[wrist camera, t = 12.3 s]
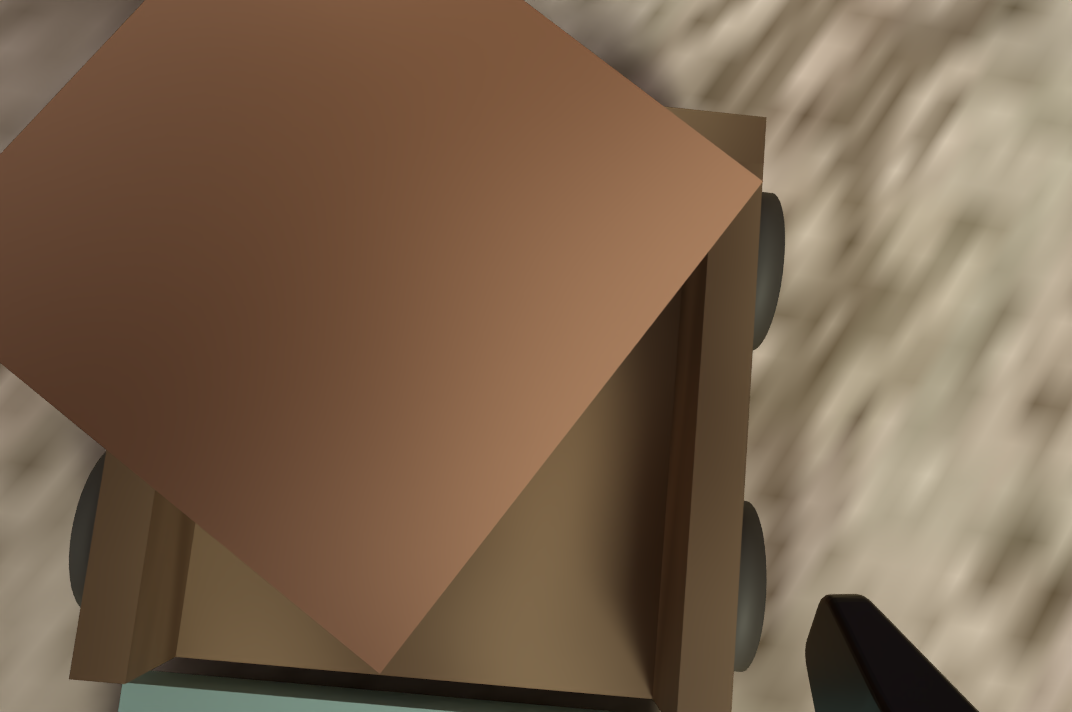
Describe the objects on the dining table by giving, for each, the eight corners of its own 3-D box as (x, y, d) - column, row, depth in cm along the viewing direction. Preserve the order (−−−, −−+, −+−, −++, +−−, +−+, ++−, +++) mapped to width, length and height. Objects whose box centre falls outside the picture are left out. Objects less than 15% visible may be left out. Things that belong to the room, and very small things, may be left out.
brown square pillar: (589, 379, 20) (762, 180, 7) (461, 543, 19) (379, 673, 6) (431, 255, 20) (303, -166, 7) (299, 412, 19) (-111, 271, 6)
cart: (744, 193, 22) (804, 121, 18) (714, 685, 21) (773, 740, 16) (205, 136, 22) (130, 49, 18) (128, 632, 20) (24, 675, 16)
